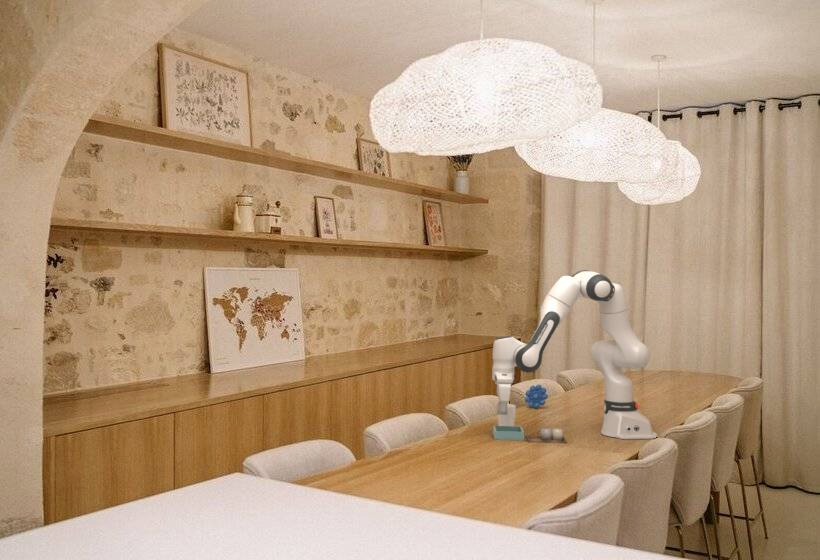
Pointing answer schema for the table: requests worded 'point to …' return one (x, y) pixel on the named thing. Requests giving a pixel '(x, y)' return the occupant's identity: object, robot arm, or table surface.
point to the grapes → (536, 396)
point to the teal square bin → (508, 432)
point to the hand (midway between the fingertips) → (502, 410)
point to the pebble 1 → (500, 409)
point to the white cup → (507, 416)
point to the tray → (538, 440)
